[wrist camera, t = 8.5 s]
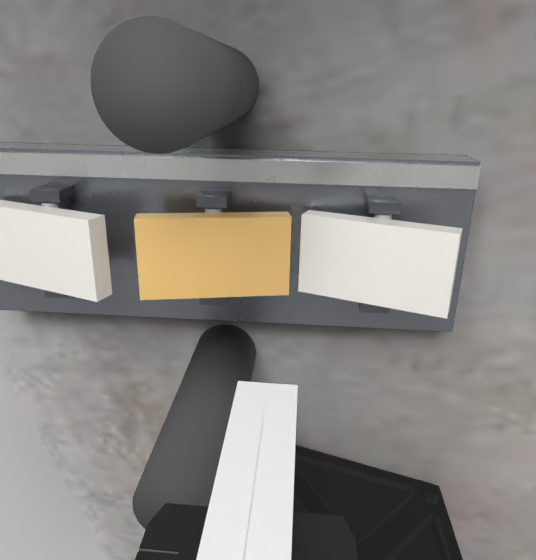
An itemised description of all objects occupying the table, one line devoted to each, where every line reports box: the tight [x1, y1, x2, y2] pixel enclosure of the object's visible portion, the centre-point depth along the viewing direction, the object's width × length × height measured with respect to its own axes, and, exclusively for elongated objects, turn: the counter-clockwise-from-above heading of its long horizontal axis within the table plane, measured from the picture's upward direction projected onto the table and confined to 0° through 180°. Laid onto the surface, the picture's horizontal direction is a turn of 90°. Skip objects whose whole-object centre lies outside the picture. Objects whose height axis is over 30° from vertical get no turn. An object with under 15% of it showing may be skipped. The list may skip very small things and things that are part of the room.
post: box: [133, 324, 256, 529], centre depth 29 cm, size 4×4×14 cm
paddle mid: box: [134, 208, 292, 300], centre depth 28 cm, size 5×8×2 cm, turn 89°
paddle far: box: [0, 200, 112, 302], centre depth 29 cm, size 5×8×2 cm, turn 89°
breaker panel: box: [0, 142, 481, 332], centre depth 30 cm, size 10×28×4 cm, turn 89°
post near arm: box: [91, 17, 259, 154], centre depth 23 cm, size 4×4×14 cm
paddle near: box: [298, 210, 463, 319], centre depth 27 cm, size 5×8×2 cm, turn 89°
